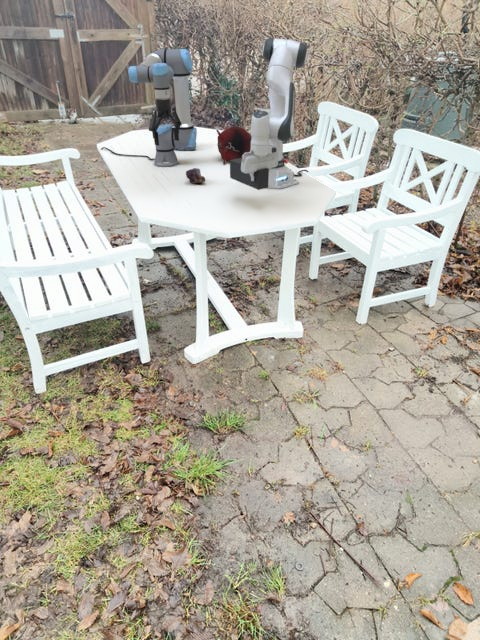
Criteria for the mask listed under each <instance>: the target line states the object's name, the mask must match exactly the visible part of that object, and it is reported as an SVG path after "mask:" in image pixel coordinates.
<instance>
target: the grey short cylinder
mask: <svg viewBox="0 0 480 640" xmlns="http://www.w3.org/2000/svg"><path fill="white" fill-rule="evenodd" d="M196 149H197V142H196V143H195V146H194V147H188V148H187V147H174V150H177V151H195V150H196Z"/></svg>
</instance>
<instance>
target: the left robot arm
mask: <svg viewBox="0 0 480 640" xmlns="http://www.w3.org/2000/svg"><path fill="white" fill-rule="evenodd" d="M127 72H128V74H127V75H128V79H129V81H130V82H131V83H132V84H138V83H139V84H144V83H145V84H146V83H147V84H150V83H151V84H153V88H154V98H155V107H156V110H151V118H150V122H149V127H148V131H149V132H151V133H152V139H153V140H154V145H155V155H154V158H151V157H149V156H148V155H143V154H142V155H139V154H123V153H118V152H115V151H113V150H111V149H110V148H108V147H106V146H103V147H101V149H100V150H103V149H105V150H107V151H109V152H111V153H112V154H114V155H117V156H122V157H138V158H139V157H141V158H148V160H150V161H154V165H155V166H157V167H163V168H164V167H165V168H167V167H168V168H169V167H174V166H177V165H178V164H179V159H178V157H177V153H176V151H175V149H174V147H187V148H188V147H194V146H195V143H196V144H197V136H198V135H197V134H198V129H197V128H196V127H195V125H194V123H193V122H192V117H191V104H190V103H191V101H190V90H189V89H190V87H189V78H190V77H191V73H192V72H193V60H192V55H191V53H190V51H189V49H187V48H162V49H158V50H154V51H153V52H151V53H149V54H148V55H146V58H145V60H143V61H142V62H141V63H140V64H138V65H131V66H129V67H128V71H127ZM172 80H173V89H174V90H173V91H174V98H175V99H174V101H175V103H174V104H175V107H174V106H172V102H171V90H170V82H171V81H172ZM165 119H168V120H169V121H170V122H171V124H162V125H161V123H162V121H163V120H165ZM173 126H174V127H173Z"/></svg>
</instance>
